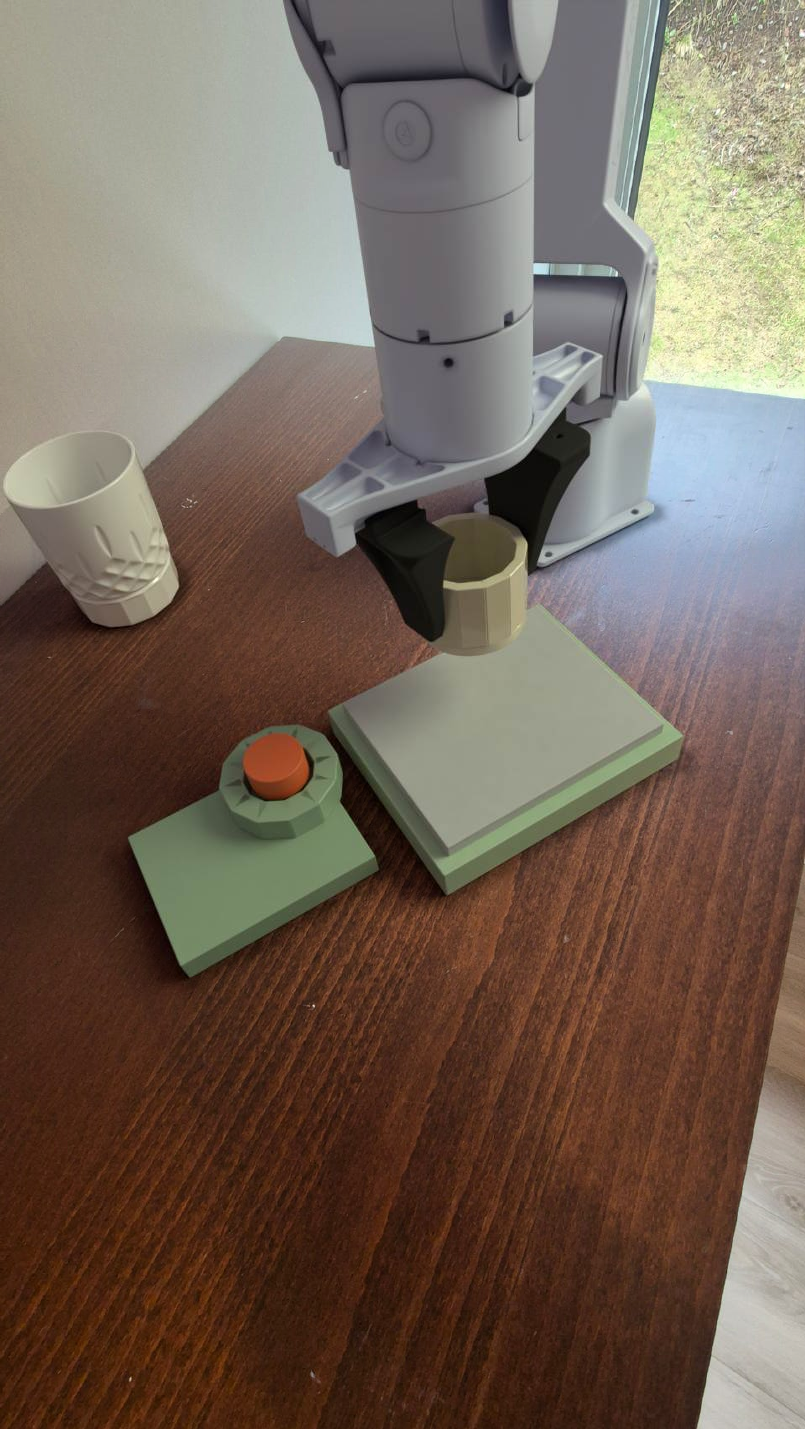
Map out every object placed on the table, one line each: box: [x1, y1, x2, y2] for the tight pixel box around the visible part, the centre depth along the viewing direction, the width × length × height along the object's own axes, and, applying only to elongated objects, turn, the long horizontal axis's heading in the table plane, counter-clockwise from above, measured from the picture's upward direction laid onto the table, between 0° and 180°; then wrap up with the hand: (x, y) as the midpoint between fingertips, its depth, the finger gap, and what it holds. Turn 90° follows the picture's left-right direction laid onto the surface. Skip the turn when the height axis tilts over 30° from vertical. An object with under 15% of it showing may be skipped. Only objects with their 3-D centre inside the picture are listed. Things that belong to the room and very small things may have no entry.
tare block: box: [127, 724, 380, 978], centre depth 40 cm, size 11×9×3 cm
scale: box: [327, 603, 684, 896], centre depth 43 cm, size 14×12×3 cm
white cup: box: [1, 429, 180, 628], centre depth 52 cm, size 8×8×10 cm
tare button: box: [243, 733, 309, 800], centre depth 40 cm, size 3×3×2 cm
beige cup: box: [420, 511, 528, 656], centre depth 38 cm, size 5×6×4 cm
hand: (470, 596), depth 39 cm, fingers closed on beige cup, 5 cm apart
